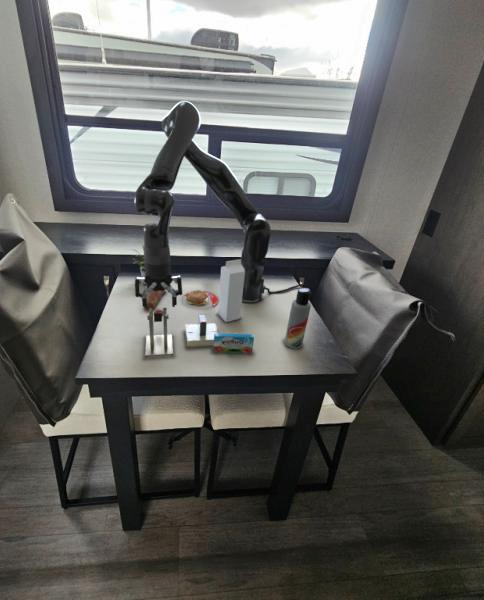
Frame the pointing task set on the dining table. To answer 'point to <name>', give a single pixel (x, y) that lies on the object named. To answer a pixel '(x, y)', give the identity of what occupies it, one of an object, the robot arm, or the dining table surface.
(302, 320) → the lotion bottle
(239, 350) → the blue flat cardboard box
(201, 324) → the black red-tipped box
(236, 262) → the milk
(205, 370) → the dining table surface
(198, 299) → the hamburger
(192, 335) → the panel
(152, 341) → the lever bracket
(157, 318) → the red ball lever
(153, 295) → the bread
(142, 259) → the house plant
